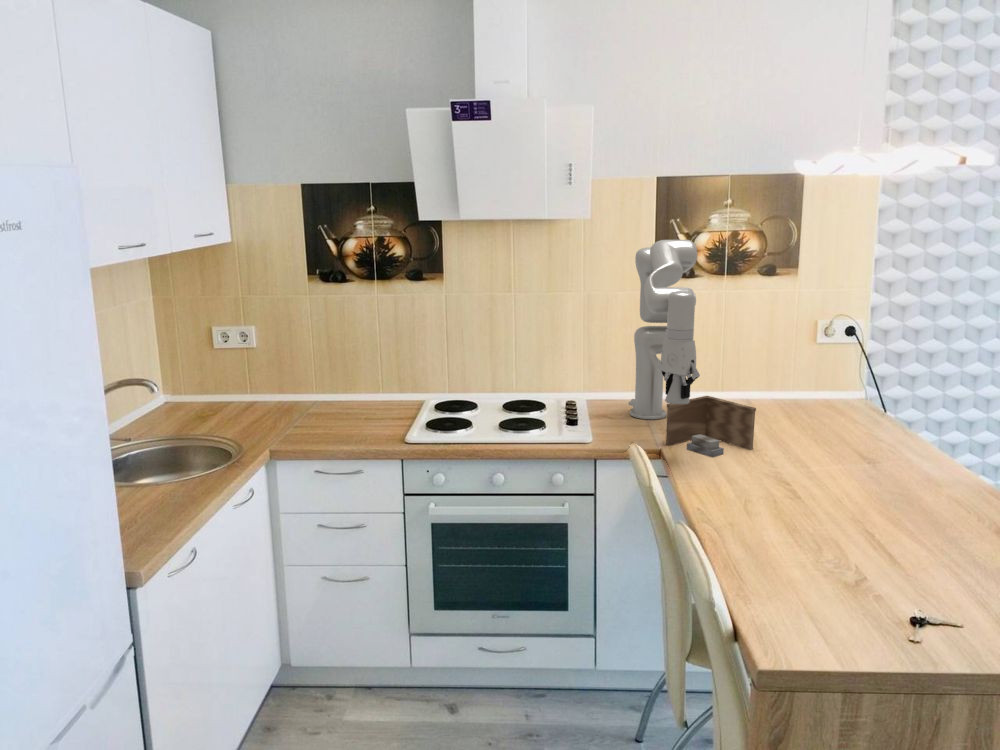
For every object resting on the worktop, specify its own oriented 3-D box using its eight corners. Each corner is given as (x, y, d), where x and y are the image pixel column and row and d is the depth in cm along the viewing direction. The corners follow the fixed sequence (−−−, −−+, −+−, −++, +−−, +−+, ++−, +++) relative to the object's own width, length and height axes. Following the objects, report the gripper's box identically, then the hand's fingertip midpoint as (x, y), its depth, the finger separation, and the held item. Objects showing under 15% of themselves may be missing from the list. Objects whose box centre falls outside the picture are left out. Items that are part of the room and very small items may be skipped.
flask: (690, 405, 245) (692, 371, 243) (664, 404, 247) (666, 370, 244) (689, 399, 252) (691, 366, 250) (664, 398, 254) (666, 365, 251)
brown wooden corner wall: (665, 444, 268) (666, 404, 265) (705, 434, 278) (707, 395, 275) (713, 460, 253) (715, 417, 250) (753, 449, 263) (756, 408, 260)
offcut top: (691, 443, 263) (691, 436, 262) (700, 441, 264) (700, 434, 264) (710, 450, 256) (710, 442, 255) (719, 448, 258) (719, 440, 257)
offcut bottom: (686, 451, 263) (686, 443, 263) (697, 448, 266) (697, 440, 266) (712, 459, 255) (713, 451, 255) (723, 455, 258) (723, 448, 258)
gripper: (649, 331, 250) (647, 392, 254) (694, 340, 236) (691, 404, 240) (667, 329, 254) (664, 388, 258) (712, 337, 240) (709, 400, 244)
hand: (677, 395), depth 249 cm, fingers closed on flask, 5 cm apart
